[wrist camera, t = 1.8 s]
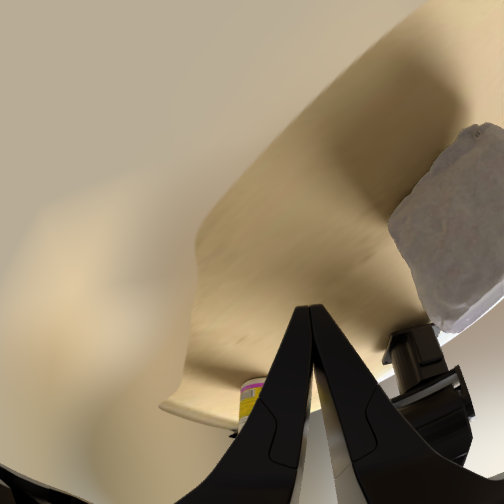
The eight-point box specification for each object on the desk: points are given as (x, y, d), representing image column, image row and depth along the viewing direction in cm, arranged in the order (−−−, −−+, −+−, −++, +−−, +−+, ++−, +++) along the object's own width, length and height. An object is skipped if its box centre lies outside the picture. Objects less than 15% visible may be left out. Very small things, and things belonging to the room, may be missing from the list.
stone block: (404, 249, 20) (455, 353, 12) (368, 218, 19) (424, 333, 11) (495, 149, 14) (582, 220, 6) (469, 104, 12) (578, 162, 4)
